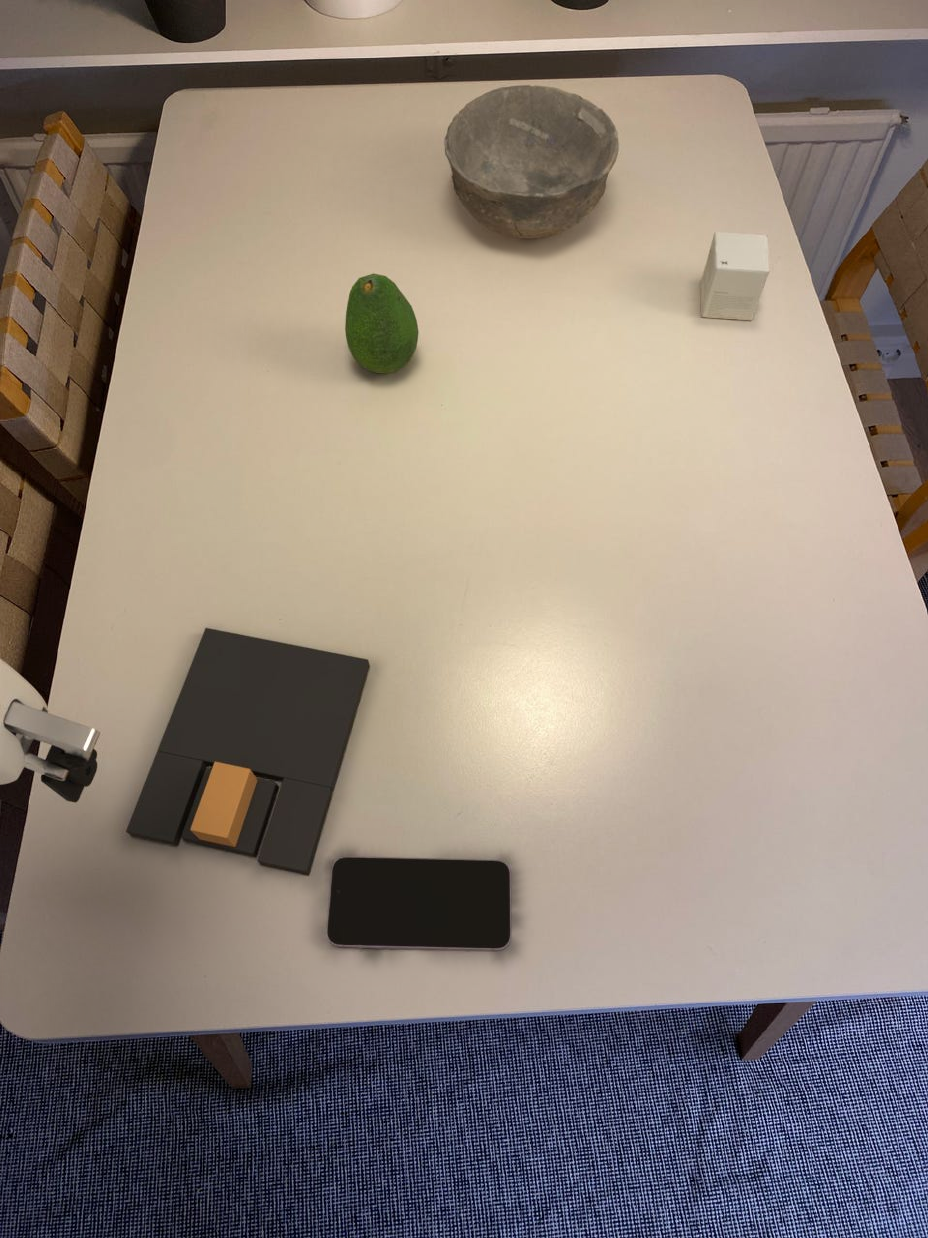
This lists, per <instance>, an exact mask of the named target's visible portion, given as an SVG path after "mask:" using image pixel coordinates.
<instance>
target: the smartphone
mask: <svg viewBox="0 0 928 1238" xmlns="http://www.w3.org/2000/svg"><path fill="white" fill-rule="evenodd" d="M330 870H331V871H330V881H329V893H328V905H327V906H328V907H327V918H326V930H325V931H326V932H325V933H326V934H325V935H326V938H327V940H328V942H329V943H330V944H331V945H332V946H334V947H335V948H352V949H381V950H383V949H388V950H437V951H438V950H441V951H480V952H481V951H486V952H497V951H503V950H505V949H506V948H508V946H509V944H510V942H511V939H512V871H511V869H510V866H509V865H508V864H507V863H506V862H505V861H503V860H500V859H479V858H478V859H477V858H476V859H474V858H437V857H397V856H396V857H395V856H394V857H393V856H392V857H391V856H389V857H388V856H360V855H359V856H357V855H355V856H354V855H353V856H352V855H347V856H345V855H344V856H341V857H338V858H337V859H335V860H334V862H333V863H332V866H331V869H330Z"/></svg>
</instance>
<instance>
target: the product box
mask: <svg viewBox="0 0 928 1238" xmlns="http://www.w3.org/2000/svg"><path fill="white" fill-rule="evenodd" d="M769 253H770V252H769V240H768V235H766V234H757V233H756V234H755V233H739V232H737V233H736V232H723V231H722V232H721V231H720V232H719V231H715V232H714V233H713V236H712V241H711V245H710V247H709V252H708V254H707V259H706V262H705V265H704V269H703V274H702V276H701V280H700V286H699V287H700V314H701V315H700V316H701V317H702V318H708V319H709V318H711V319H725V320H739V321H752V320H753V319H754V315H755V313H756V310H757V308H758V306H759V305H758V303H759V302H760V299H761V296H762V293H763V290H764V288H765V284H766V283H767V279H768V277H769V274H770V272H771V270H770V268H771V267H770V254H769Z"/></svg>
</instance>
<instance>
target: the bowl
mask: <svg viewBox="0 0 928 1238" xmlns="http://www.w3.org/2000/svg"><path fill="white" fill-rule="evenodd" d="M458 111H459V112H458V113H456V114H455V115H454V117H453V118H452V120H451V122H450V123H449V125H448V127H447V130H446V134H445V137H444V140H443V146H444V147H443V148H444V154H445V157H446V158H447V161H448V163H449V165H450V169H451V173H452V174H451V181H452V185H453V187H452V188H453V190H454V193H455V195H456V197H457V198H458V200H459V201H460V203H461V204H462V205H463V207H464V208H465V209H466V210H467V211H468V212H469V213H470V214H471V215H472V216H473V218H475V220H477V221H478V222H479V223H481V224H482V225H484V226H485V227H487V228H489V229H490V230H492V231H495V232H497V233H500V234H502V235H505V236H508V237H512V238H518V239H542V238H548V237H552V236H555V235H557V234H560V233H561V232H564V231H566V229H570V228H571V227H573V226H574V225H576V224H578V223H580V222H581V221H582V220H584V219H585V218H586V217H587V216H588V215H589V214H590V213H591V212H593V210H594V209H595V208H596V207H597V206H598V204H599V202H600V201H601V200H602V198H603V196H604V195H605V191H606V187H607V180H608V176H609V175H610V172H611V170H612V169H613V167H614V166H615V163H616V162H617V158H618V154H619V150H620V149H619V148H620V147H619V145H620V143H619V133H618V130H617V128H616V126H615V123H614V122H613V121H612V119H611V118H610V116H609V115H608V114H607V113H606V112H605V111H604V109H602V108H600V107H598V106H597V105H595V104H594V103H592V102H591V101H590V100H589V99H586V98H583V97H582V96H581V95H579V94H577V93H572V92H570V91H569V92H568V91H565V90H563V89H561V88H559V87H553V86H545V85H531V84H524V85H523V84H522V85H511V86H501V87H498V88H495V89H491V90H489V91H487V92H485V93H483V94H482V95H479V96H477V97H475V98H474V99H472V100H471V101H468V103H466V104H465V105H464V106H463V108H461V109H460V110H458Z"/></svg>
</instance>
